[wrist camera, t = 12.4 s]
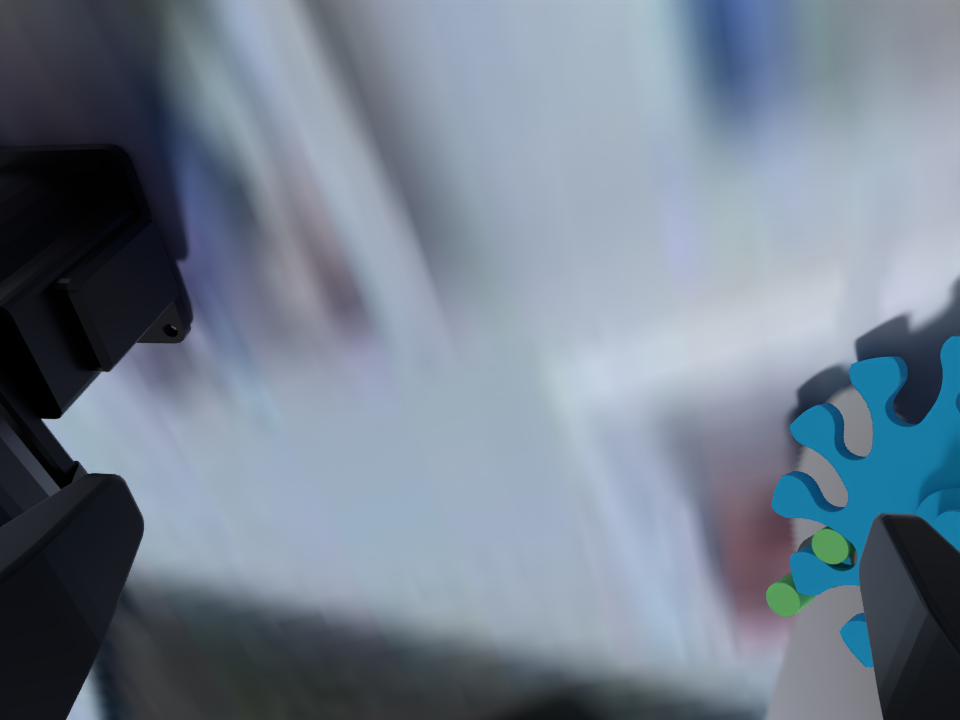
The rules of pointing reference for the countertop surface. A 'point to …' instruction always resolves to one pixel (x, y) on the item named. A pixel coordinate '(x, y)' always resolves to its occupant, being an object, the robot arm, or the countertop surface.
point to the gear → (871, 484)
